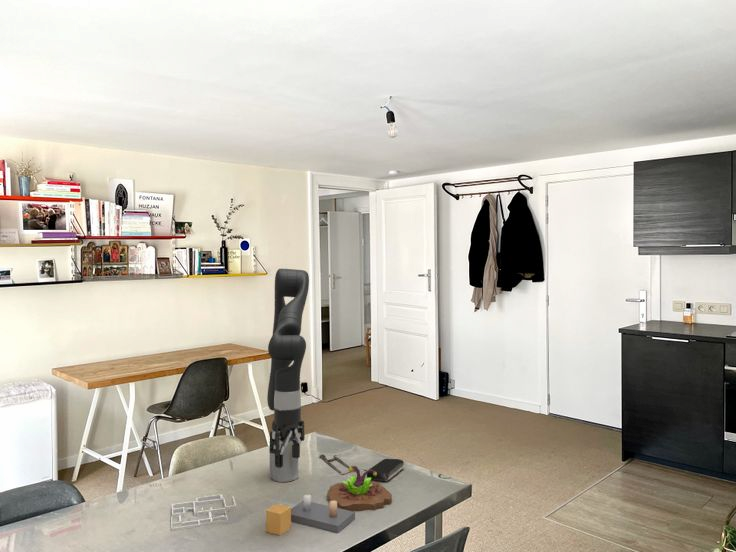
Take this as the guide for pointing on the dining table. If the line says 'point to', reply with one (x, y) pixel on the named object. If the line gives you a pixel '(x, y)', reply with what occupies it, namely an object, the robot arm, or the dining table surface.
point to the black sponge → (386, 469)
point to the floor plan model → (201, 512)
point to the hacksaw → (338, 461)
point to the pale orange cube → (278, 519)
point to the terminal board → (321, 515)
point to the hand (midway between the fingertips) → (287, 462)
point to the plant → (359, 493)
